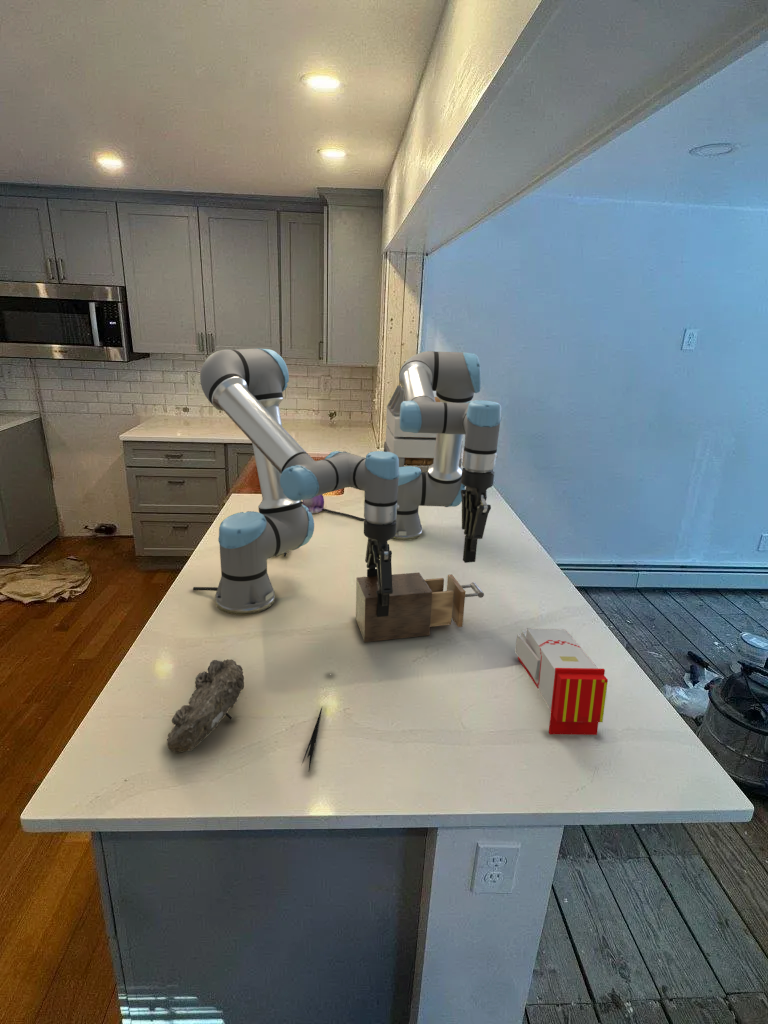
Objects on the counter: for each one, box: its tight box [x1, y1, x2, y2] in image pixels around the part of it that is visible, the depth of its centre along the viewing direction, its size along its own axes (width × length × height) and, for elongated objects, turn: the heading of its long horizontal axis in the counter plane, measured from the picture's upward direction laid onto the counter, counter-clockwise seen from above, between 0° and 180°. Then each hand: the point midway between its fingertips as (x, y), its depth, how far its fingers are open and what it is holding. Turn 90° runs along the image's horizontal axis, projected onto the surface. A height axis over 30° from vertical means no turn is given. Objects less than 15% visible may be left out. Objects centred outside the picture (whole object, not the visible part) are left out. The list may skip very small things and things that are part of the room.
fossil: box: [166, 658, 245, 754], centre depth 106 cm, size 22×10×15 cm
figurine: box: [302, 494, 325, 514], centre depth 216 cm, size 9×10×15 cm
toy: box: [514, 627, 609, 736], centre depth 119 cm, size 12×13×30 cm
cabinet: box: [355, 572, 432, 643], centre depth 139 cm, size 16×11×12 cm, turn 104°
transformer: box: [383, 384, 464, 470], centre depth 268 cm, size 34×33×41 cm
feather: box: [301, 673, 332, 771], centre depth 108 cm, size 2×28×2 cm
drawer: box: [423, 574, 485, 628], centre depth 142 cm, size 21×10×10 cm, turn 104°
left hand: (377, 603), depth 138 cm, fingers closed on cabinet, 11 cm apart
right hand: (468, 561), depth 140 cm, fingers closed
